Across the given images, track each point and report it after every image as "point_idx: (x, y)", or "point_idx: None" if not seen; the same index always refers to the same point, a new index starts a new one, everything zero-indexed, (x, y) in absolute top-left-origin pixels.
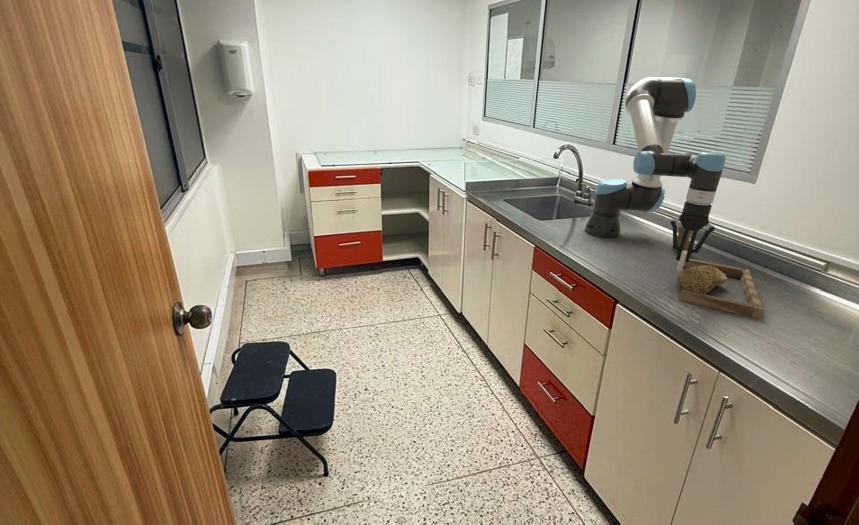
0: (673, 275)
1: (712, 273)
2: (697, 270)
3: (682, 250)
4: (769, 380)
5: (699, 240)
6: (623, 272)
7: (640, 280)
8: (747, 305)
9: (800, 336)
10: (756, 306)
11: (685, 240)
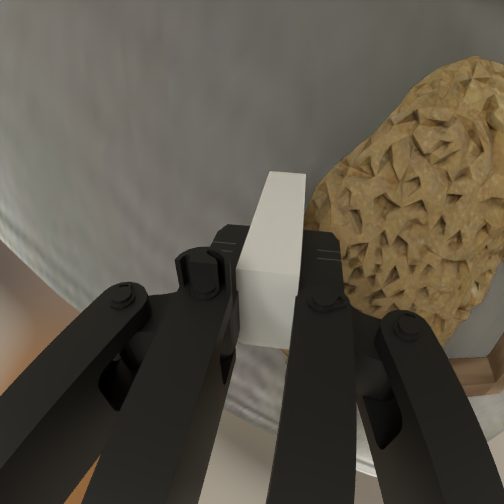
0: (275, 90)
1: (481, 269)
2: (390, 295)
3: (232, 362)
4: (374, 474)
5: (417, 496)
6: (60, 207)
7: (134, 259)
8: (472, 393)
9: None
10: (494, 387)
11: (201, 485)
